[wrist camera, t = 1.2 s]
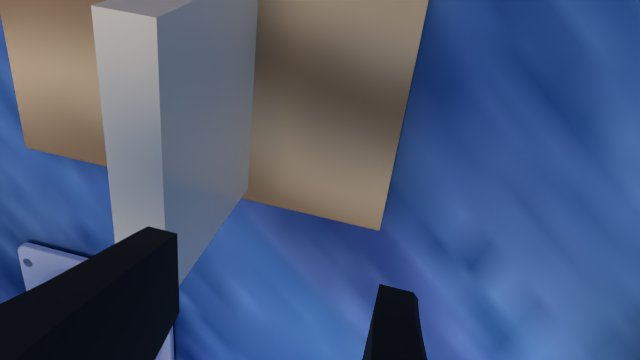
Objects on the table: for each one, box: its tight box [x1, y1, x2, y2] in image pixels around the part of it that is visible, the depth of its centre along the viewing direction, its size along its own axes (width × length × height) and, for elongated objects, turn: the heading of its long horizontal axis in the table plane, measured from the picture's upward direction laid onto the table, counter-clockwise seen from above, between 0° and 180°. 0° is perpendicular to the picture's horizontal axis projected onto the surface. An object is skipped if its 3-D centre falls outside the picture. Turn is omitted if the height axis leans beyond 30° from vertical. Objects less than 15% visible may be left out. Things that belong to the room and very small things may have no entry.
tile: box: [91, 0, 258, 285], centre depth 16 cm, size 8×2×6 cm, turn 174°
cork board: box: [0, 0, 429, 231], centre depth 19 cm, size 12×15×1 cm
